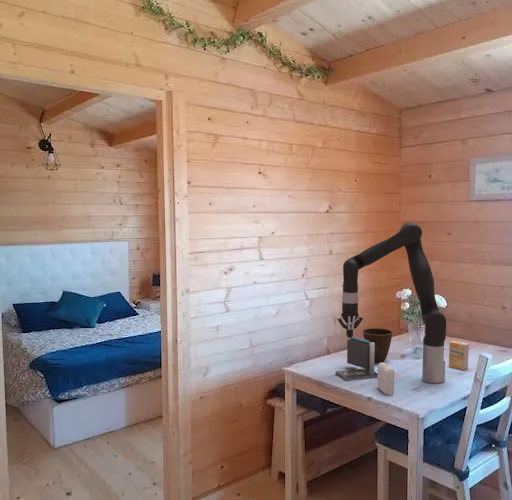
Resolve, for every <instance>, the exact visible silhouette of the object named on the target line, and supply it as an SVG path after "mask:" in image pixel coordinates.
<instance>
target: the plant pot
mask: <svg viewBox="0 0 512 500" xmlns="http://www.w3.org/2000/svg"><path fill="white" fill-rule="evenodd" d="M362 333H363V339H364V340H368V341H370V342H374V343H375V353H374V364H379V363H386V359H387V357H388V354H389V351H390V347H391V342H392V339H393V338H392V337H393V331H392V330H389V329H386V328H379V327H378V328H377V327H375V328H366V329H363V330H362Z"/></svg>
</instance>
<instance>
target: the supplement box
mask: <svg viewBox="0 0 512 500" xmlns="http://www.w3.org/2000/svg"><path fill="white" fill-rule="evenodd" d="M469 350H470V343H467V342H463V341H458V340H451V341H450V342H449V349H448V351H449V353H448V367H449V368H452V369H457V370H462V371H465V370H468V368H469Z"/></svg>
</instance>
